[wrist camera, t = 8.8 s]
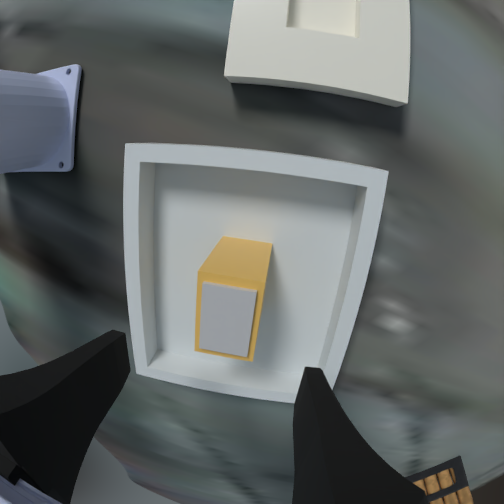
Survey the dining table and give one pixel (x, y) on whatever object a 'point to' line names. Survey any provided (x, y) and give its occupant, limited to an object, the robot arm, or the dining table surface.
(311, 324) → the parts tray
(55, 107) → the robot arm
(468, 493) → the ammunition clip
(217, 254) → the block
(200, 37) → the dining table surface
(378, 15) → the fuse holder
